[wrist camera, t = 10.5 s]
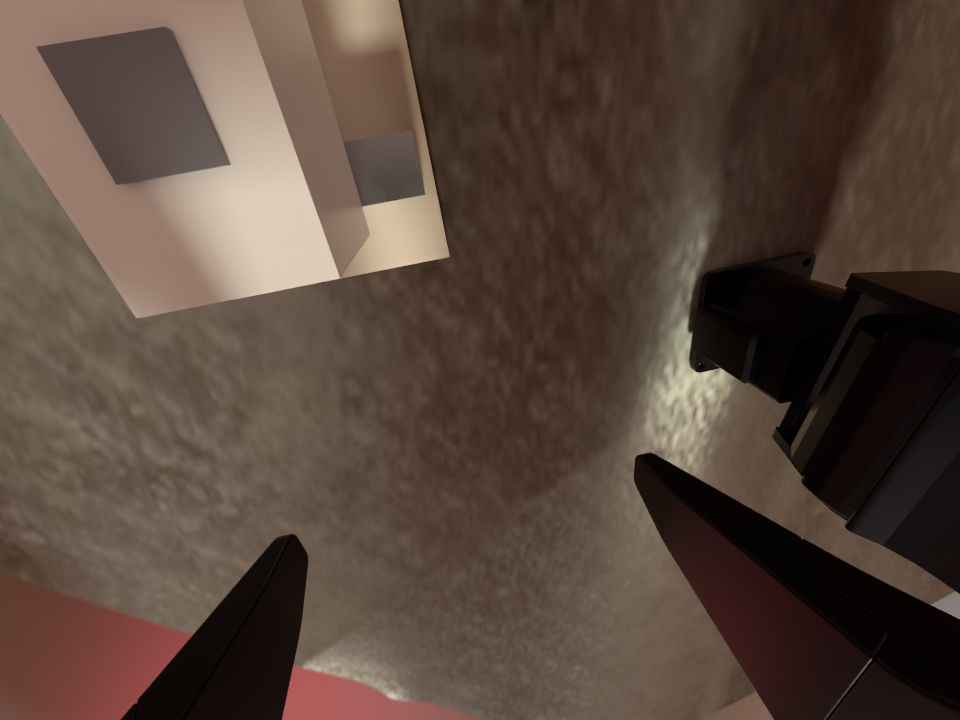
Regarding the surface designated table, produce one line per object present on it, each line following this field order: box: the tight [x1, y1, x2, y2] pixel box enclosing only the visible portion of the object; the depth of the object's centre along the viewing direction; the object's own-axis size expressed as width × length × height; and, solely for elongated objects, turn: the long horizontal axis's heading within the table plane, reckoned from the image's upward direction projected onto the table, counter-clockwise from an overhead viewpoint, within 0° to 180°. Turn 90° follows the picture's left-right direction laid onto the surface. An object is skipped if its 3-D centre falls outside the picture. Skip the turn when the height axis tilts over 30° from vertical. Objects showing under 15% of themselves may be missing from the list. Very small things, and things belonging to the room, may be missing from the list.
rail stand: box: [238, 0, 450, 299], centre depth 12 cm, size 10×18×4 cm, turn 9°
